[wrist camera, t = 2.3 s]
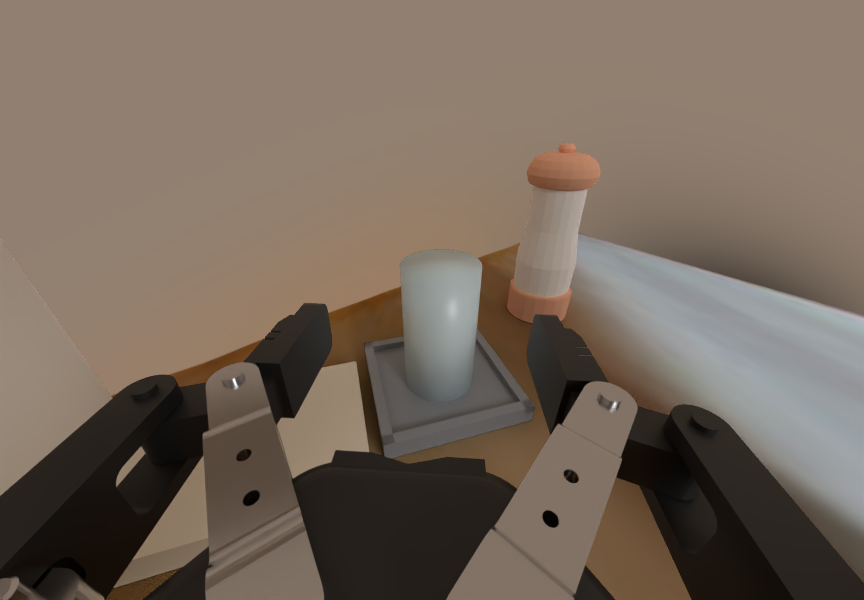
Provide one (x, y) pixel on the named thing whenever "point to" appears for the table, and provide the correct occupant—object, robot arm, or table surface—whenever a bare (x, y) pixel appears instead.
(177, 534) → the white c-shaped stand
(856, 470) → the table surface
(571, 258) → the pepper shaker
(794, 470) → the table surface
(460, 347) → the pale grey cylinder
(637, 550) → the table surface
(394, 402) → the tray
